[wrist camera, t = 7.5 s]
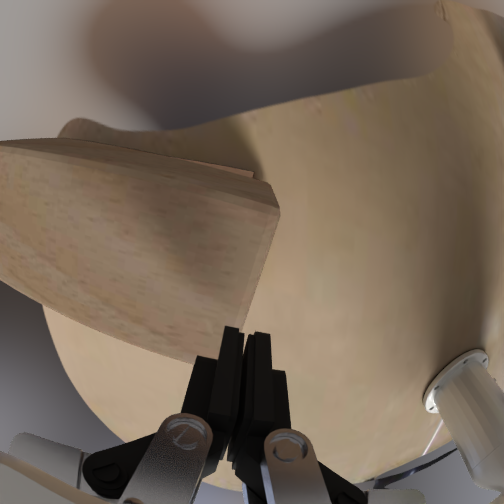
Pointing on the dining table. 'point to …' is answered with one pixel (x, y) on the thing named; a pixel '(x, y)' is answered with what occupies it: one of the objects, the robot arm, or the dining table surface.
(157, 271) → the wooden block
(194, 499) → the robot arm
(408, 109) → the dining table surface
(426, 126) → the dining table surface
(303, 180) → the dining table surface
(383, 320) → the dining table surface
